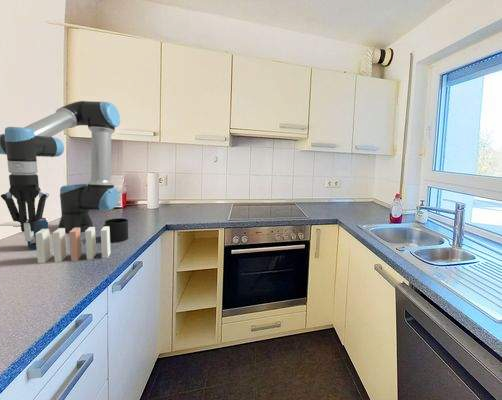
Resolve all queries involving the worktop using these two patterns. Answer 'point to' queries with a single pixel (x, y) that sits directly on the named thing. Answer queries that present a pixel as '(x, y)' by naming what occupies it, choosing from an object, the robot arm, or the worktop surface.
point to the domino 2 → (59, 244)
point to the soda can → (39, 226)
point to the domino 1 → (43, 245)
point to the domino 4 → (90, 243)
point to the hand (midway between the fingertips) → (29, 239)
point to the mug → (117, 229)
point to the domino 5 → (105, 241)
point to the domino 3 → (75, 244)
